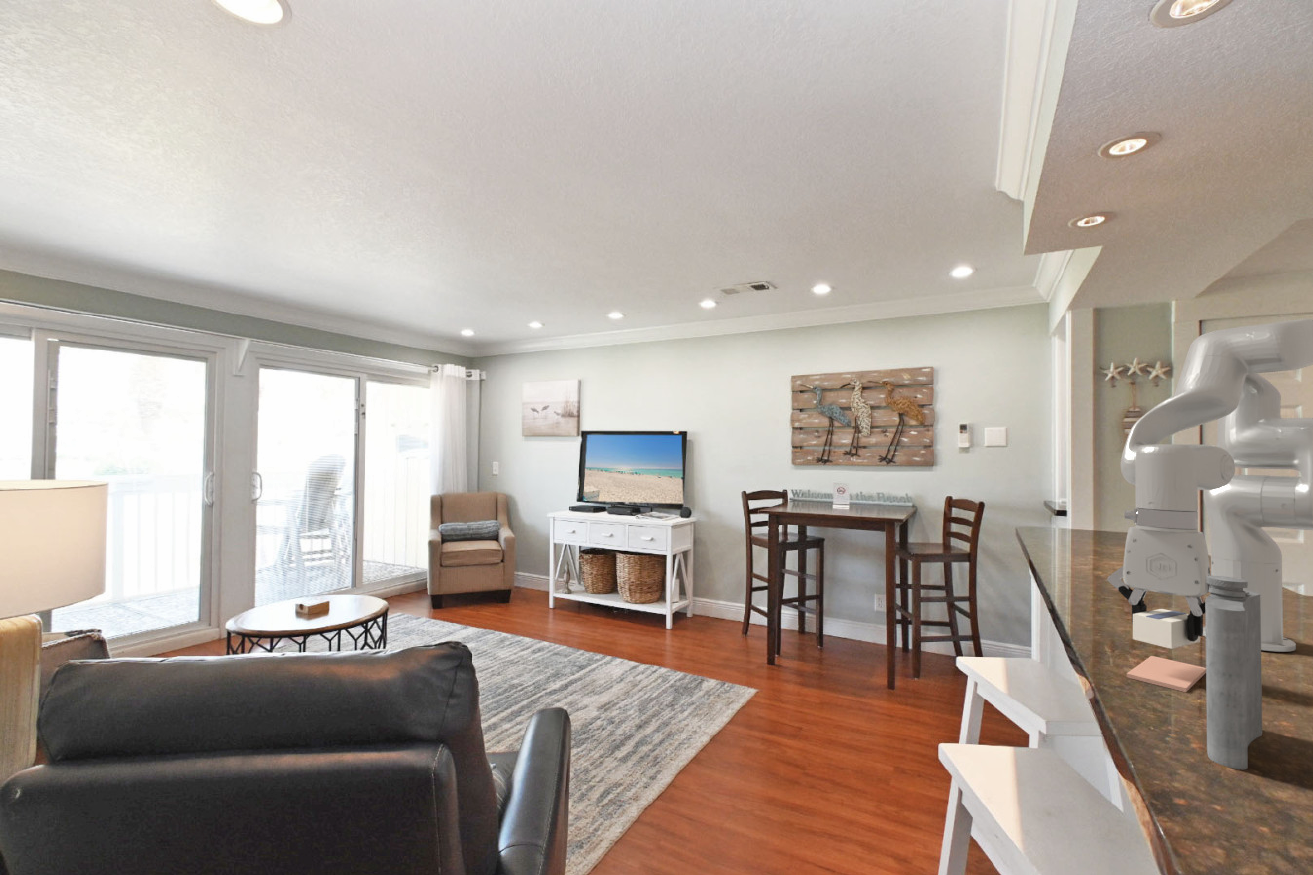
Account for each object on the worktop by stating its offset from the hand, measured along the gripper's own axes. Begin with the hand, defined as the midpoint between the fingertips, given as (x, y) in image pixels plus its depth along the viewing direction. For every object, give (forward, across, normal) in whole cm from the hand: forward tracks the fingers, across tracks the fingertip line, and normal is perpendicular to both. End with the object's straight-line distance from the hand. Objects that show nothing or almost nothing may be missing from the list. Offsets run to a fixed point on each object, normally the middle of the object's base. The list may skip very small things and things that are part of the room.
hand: (1166, 633), depth 92 cm
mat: (+7, 0, 0) cm, 7 cm away
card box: (+1, 0, 0) cm, 1 cm away
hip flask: (+7, +10, -23) cm, 26 cm away
